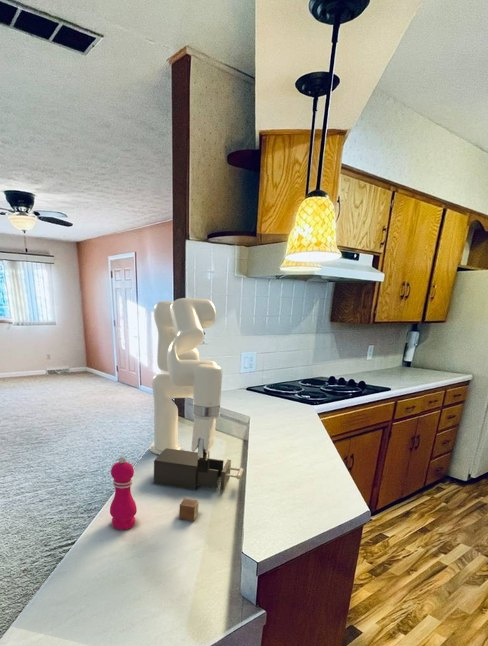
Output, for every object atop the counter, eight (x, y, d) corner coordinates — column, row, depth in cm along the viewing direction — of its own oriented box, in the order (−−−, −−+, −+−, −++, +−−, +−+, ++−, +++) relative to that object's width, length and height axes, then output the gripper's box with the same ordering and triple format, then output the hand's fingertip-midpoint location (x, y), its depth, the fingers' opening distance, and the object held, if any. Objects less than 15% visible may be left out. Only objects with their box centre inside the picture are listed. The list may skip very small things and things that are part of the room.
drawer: (243, 479, 144) (245, 461, 142) (238, 493, 134) (239, 474, 131) (192, 472, 148) (193, 454, 145) (184, 485, 137) (184, 466, 135)
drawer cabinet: (204, 475, 148) (205, 453, 145) (195, 490, 136) (196, 466, 133) (165, 470, 151) (166, 448, 147) (153, 483, 139) (153, 460, 136)
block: (183, 511, 122) (184, 498, 121) (198, 513, 122) (198, 500, 120) (179, 518, 118) (179, 504, 117) (194, 521, 117) (194, 507, 116)
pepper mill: (131, 532, 110) (130, 463, 102) (105, 528, 111) (103, 460, 104) (140, 519, 117) (140, 454, 109) (116, 515, 118) (114, 450, 110)
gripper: (199, 403, 121) (196, 460, 128) (186, 415, 107) (183, 479, 114) (224, 405, 120) (220, 464, 126) (214, 418, 106) (210, 483, 113)
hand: (202, 471), depth 120 cm, fingers closed
